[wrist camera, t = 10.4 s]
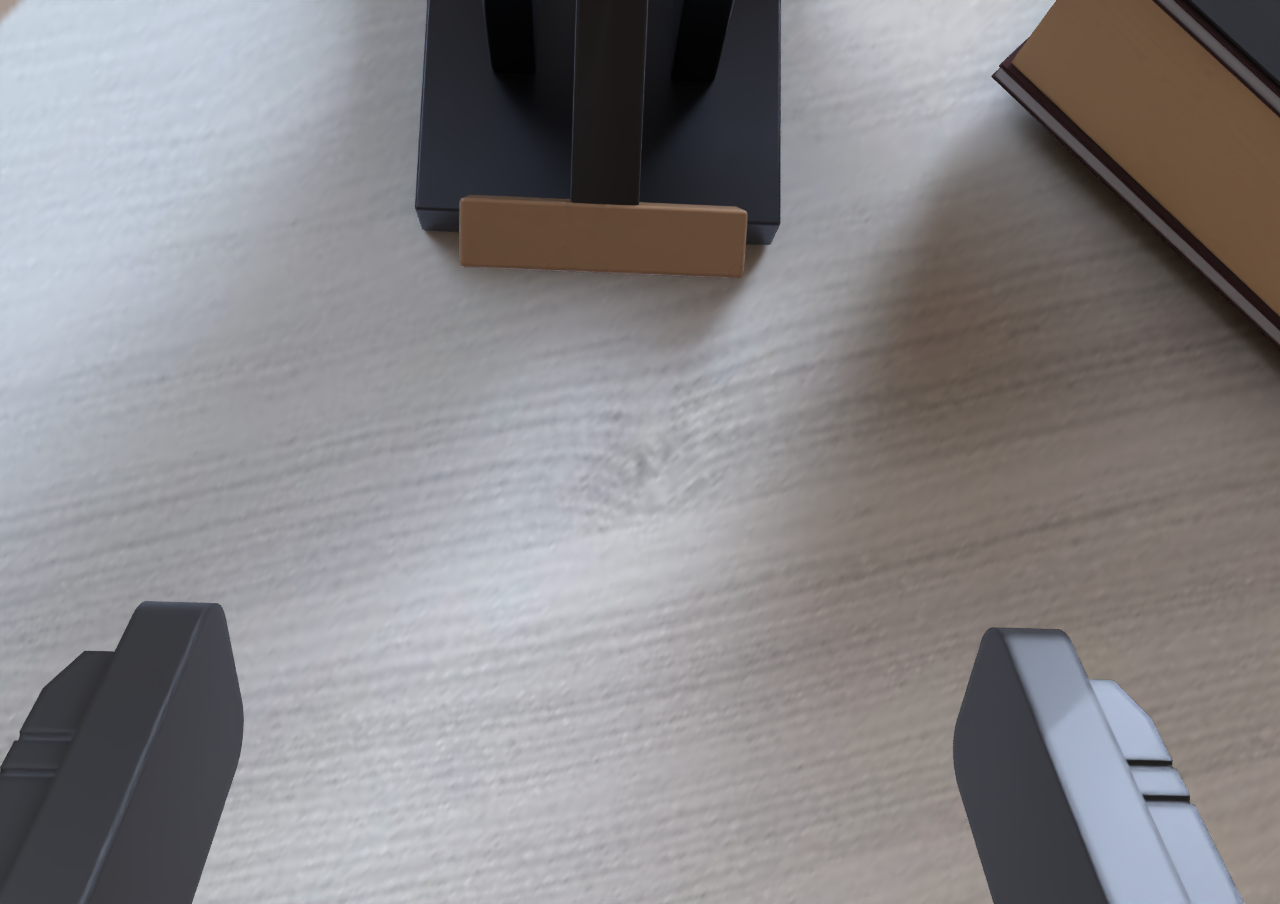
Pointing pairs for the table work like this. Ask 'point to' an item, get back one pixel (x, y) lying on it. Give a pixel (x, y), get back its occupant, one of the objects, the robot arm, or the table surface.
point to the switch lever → (604, 180)
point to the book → (1173, 125)
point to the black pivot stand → (543, 106)
